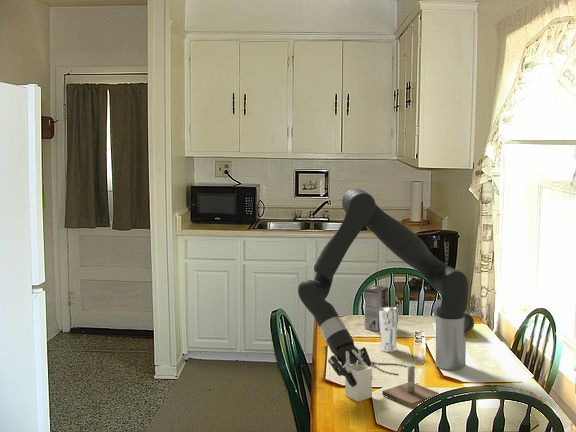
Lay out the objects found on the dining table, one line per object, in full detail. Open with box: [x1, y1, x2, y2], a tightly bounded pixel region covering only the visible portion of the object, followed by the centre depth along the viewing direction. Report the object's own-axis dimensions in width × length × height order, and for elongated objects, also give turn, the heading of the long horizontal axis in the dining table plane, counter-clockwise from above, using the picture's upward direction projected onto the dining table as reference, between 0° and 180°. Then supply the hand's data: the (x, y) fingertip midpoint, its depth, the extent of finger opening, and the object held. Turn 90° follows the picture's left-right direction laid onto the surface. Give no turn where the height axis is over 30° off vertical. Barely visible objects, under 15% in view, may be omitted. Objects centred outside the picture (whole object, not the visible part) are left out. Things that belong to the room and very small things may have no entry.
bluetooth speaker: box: [432, 298, 475, 335], centre depth 275 cm, size 23×9×10 cm, turn 9°
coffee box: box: [364, 284, 390, 332], centre depth 278 cm, size 9×6×16 cm
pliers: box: [366, 361, 409, 376], centre depth 233 cm, size 10×1×20 cm
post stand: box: [381, 364, 440, 409], centre depth 207 cm, size 12×12×10 cm
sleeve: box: [344, 364, 373, 402], centre depth 208 cm, size 6×6×9 cm
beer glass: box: [379, 306, 399, 353], centre depth 251 cm, size 7×7×15 cm
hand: (362, 383), depth 207 cm, fingers closed on sleeve, 5 cm apart
